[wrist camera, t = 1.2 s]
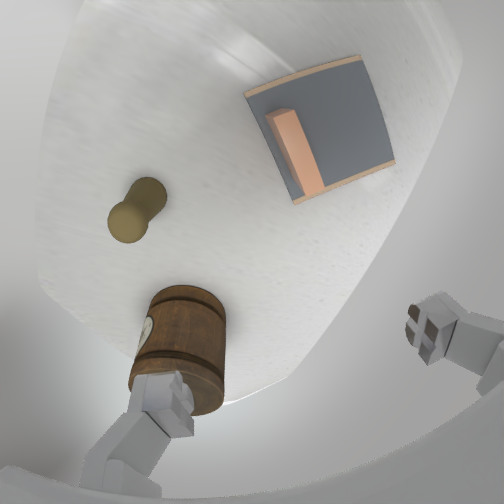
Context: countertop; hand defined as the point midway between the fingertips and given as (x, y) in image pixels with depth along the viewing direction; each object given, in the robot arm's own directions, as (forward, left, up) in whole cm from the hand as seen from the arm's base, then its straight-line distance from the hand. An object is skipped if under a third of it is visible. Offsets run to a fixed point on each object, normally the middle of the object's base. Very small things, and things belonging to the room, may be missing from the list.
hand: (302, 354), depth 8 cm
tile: (-6, +1, -33) cm, 33 cm away
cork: (+16, -1, -33) cm, 37 cm away
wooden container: (+23, +22, -33) cm, 46 cm away
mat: (-12, +1, -33) cm, 35 cm away
